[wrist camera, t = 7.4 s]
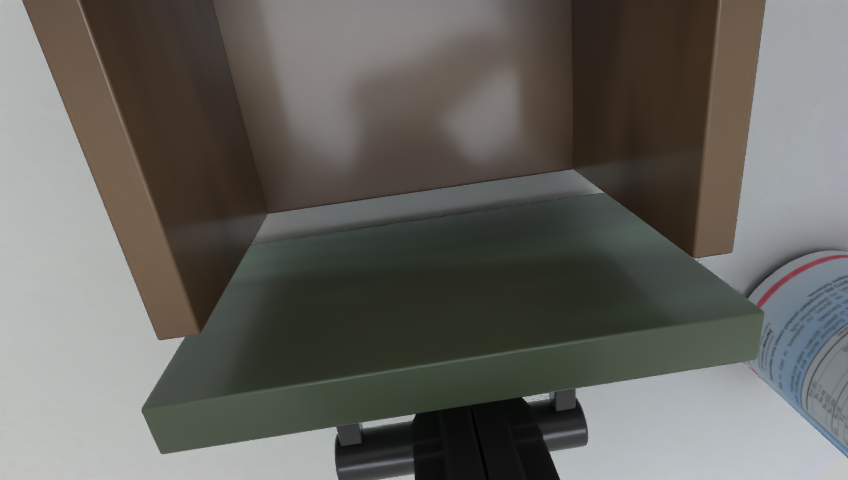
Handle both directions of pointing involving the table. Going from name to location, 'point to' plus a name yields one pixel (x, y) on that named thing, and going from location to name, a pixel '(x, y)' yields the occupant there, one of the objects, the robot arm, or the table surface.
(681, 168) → the drawer
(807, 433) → the table surface
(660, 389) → the table surface
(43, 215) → the table surface
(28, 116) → the table surface
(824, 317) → the pill bottle
